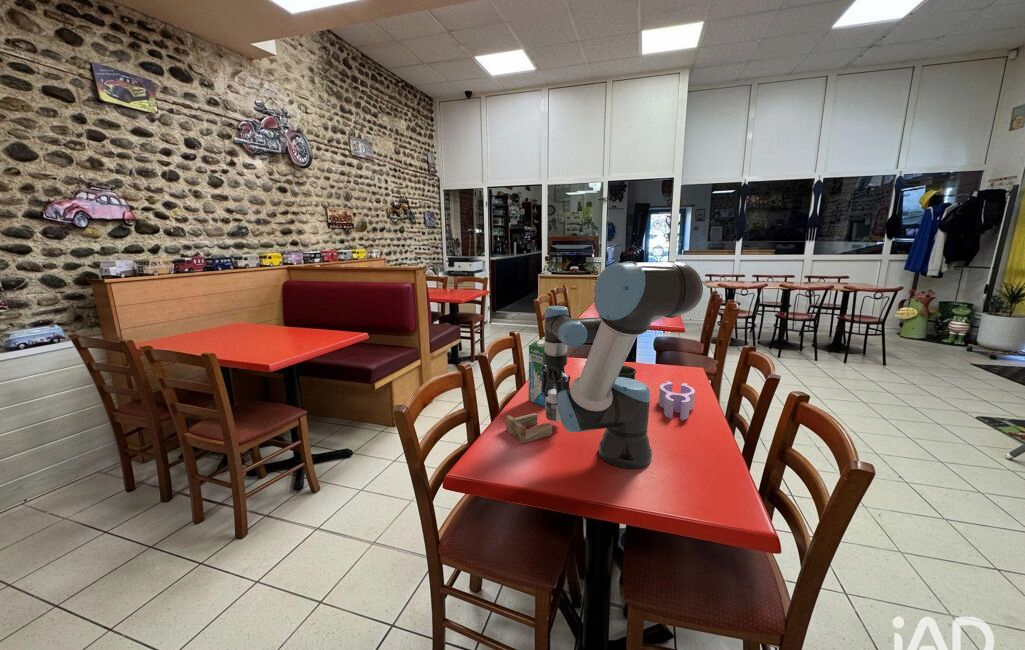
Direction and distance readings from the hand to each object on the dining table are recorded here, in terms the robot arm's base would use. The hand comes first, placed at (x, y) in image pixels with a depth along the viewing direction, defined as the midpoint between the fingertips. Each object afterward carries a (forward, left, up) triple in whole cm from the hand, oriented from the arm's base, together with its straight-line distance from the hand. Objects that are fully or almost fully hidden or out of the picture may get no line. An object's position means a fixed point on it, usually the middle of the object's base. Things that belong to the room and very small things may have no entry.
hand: (554, 417), depth 138 cm
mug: (+8, -35, -3) cm, 37 cm away
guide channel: (0, +10, -3) cm, 10 cm away
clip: (-11, -48, -3) cm, 49 cm away
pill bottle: (0, 0, -1) cm, 1 cm away
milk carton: (+19, -8, -3) cm, 21 cm away
